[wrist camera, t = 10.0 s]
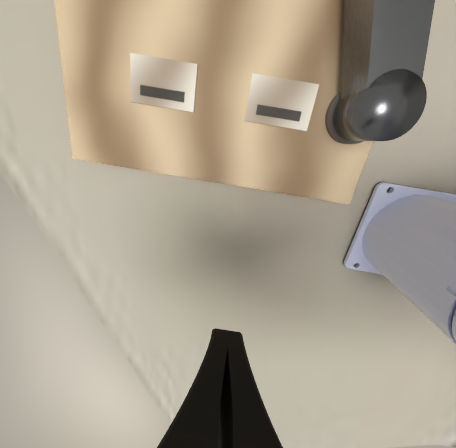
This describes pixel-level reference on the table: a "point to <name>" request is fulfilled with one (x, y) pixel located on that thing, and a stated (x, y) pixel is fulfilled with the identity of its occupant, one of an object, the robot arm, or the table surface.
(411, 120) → the swing bar
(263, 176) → the label board
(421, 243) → the robot arm
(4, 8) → the table surface
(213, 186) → the table surface
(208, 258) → the table surface
